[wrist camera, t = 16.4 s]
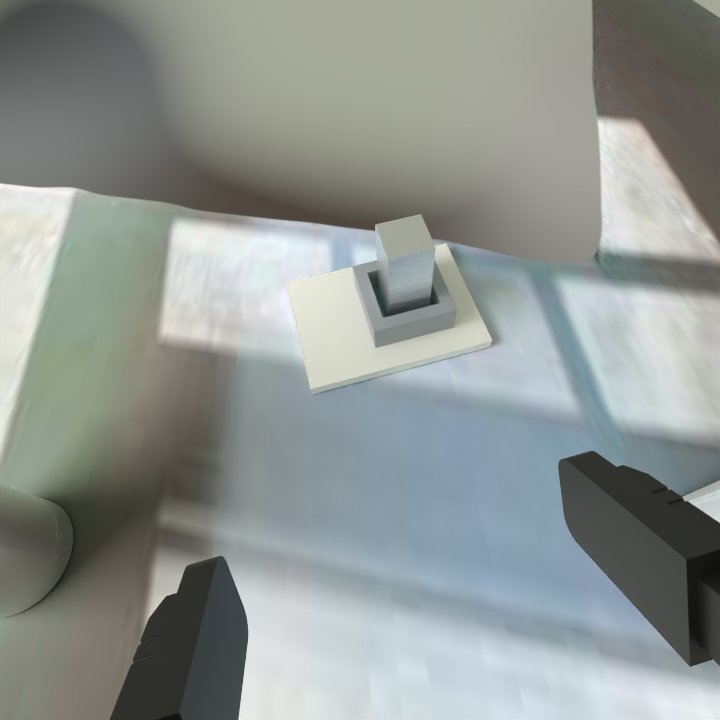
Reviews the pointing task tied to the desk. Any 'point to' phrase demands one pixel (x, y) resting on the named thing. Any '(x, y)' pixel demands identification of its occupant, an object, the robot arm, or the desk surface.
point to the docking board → (380, 324)
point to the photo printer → (707, 500)
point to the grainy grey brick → (404, 264)
